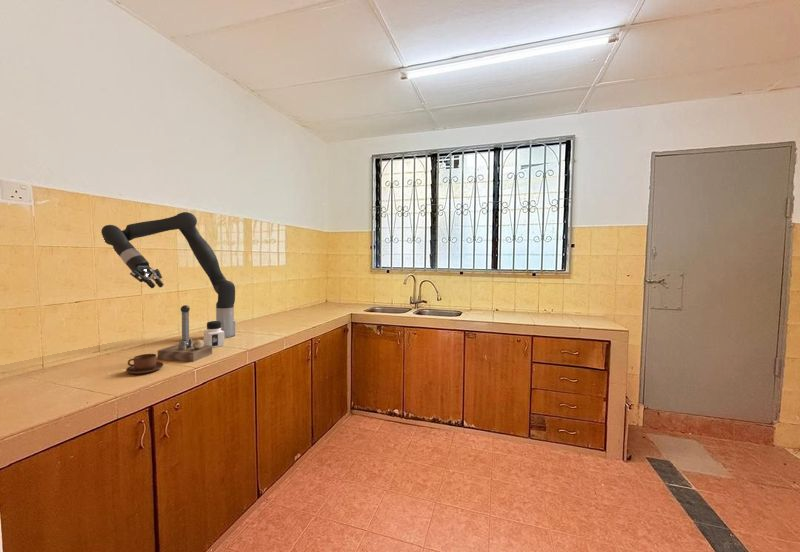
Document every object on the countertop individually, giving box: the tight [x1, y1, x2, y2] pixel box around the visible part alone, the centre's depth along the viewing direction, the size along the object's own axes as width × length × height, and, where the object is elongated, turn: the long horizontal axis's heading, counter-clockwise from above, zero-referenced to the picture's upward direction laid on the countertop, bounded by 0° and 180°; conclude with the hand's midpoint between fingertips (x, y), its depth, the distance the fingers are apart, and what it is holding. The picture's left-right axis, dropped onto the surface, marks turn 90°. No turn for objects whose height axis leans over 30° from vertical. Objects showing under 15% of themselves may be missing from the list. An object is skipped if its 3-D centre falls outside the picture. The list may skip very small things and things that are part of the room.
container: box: [203, 320, 225, 349], centre depth 173 cm, size 8×8×13 cm
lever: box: [180, 304, 191, 348], centre depth 153 cm, size 4×4×20 cm
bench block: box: [157, 338, 213, 363], centre depth 154 cm, size 18×12×8 cm, turn 83°
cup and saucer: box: [125, 353, 164, 375], centre depth 134 cm, size 12×12×6 cm
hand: (157, 286), depth 154 cm, fingers open, 4 cm apart
